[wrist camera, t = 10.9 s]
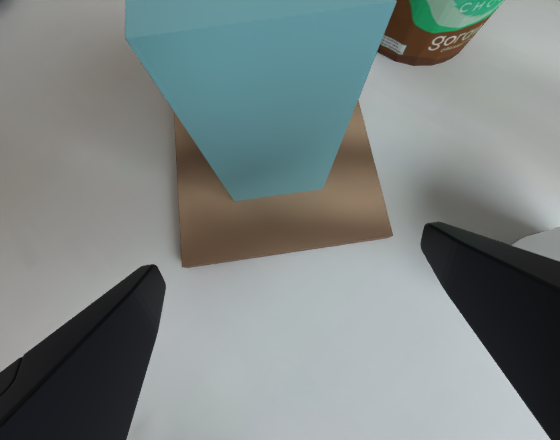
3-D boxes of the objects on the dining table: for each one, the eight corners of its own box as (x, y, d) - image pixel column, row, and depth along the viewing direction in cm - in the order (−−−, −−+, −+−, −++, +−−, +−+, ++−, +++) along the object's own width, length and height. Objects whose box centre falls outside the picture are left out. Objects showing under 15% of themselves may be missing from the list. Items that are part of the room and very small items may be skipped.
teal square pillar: (322, 189, 17) (396, 2, 6) (234, 201, 17) (125, 38, 6) (308, 112, 19) (343, -163, 7) (226, 123, 19) (127, -135, 7)
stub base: (387, 238, 17) (420, 224, 13) (187, 267, 17) (154, 263, 13) (345, 72, 21) (361, 17, 16) (178, 97, 21) (148, 47, 16)
